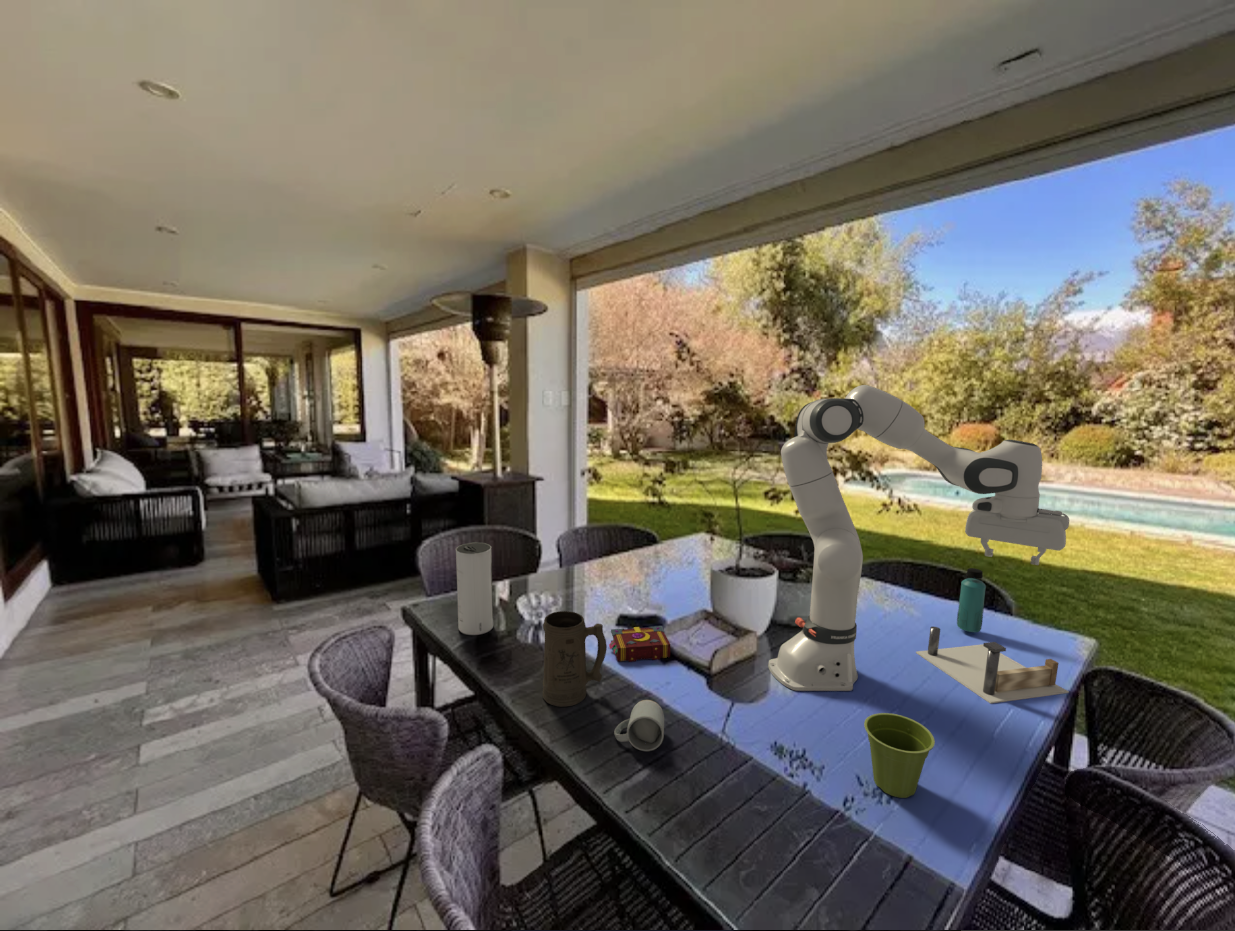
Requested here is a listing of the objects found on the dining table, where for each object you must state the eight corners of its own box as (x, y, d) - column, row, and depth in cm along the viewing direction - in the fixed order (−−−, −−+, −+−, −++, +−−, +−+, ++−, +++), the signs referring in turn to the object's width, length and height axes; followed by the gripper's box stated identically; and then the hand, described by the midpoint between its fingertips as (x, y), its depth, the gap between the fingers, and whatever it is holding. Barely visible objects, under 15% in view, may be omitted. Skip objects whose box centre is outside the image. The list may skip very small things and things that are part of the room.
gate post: (988, 698, 134) (995, 649, 131) (977, 690, 137) (983, 642, 134) (999, 696, 134) (1006, 648, 132) (988, 689, 137) (994, 641, 135)
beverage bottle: (984, 638, 164) (992, 574, 161) (960, 636, 165) (967, 572, 162) (975, 628, 170) (983, 566, 167) (951, 626, 172) (958, 565, 168)
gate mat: (990, 703, 131) (990, 702, 131) (915, 652, 155) (915, 651, 155) (1068, 692, 136) (1068, 691, 136) (984, 645, 160) (984, 644, 160)
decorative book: (671, 659, 151) (671, 642, 150) (613, 664, 148) (613, 646, 148) (661, 639, 162) (661, 624, 161) (606, 643, 159) (607, 627, 159)
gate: (997, 692, 135) (1000, 669, 134) (990, 687, 137) (993, 665, 136) (1055, 684, 138) (1058, 662, 137) (1047, 680, 140) (1050, 658, 139)
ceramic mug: (664, 727, 121) (664, 696, 120) (663, 753, 113) (663, 719, 112) (616, 725, 123) (616, 693, 121) (612, 750, 115) (612, 716, 113)
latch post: (931, 657, 152) (934, 630, 151) (925, 653, 155) (928, 626, 153) (939, 656, 153) (942, 630, 152) (932, 652, 155) (935, 626, 154)
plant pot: (906, 762, 111) (911, 711, 109) (942, 808, 100) (949, 752, 98) (848, 763, 111) (853, 712, 109) (878, 809, 99) (883, 753, 97)
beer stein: (542, 710, 127) (547, 629, 124) (536, 685, 137) (540, 609, 134) (606, 705, 131) (612, 626, 128) (596, 680, 142) (601, 607, 138)
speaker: (496, 632, 165) (493, 549, 161) (460, 638, 161) (456, 553, 157) (490, 618, 175) (488, 539, 170) (456, 623, 171) (453, 542, 167)
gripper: (1072, 509, 130) (1066, 565, 132) (972, 498, 144) (968, 548, 146) (1068, 514, 125) (1062, 572, 128) (965, 502, 140) (961, 554, 142)
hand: (1011, 559), depth 137 cm, fingers open, 8 cm apart
